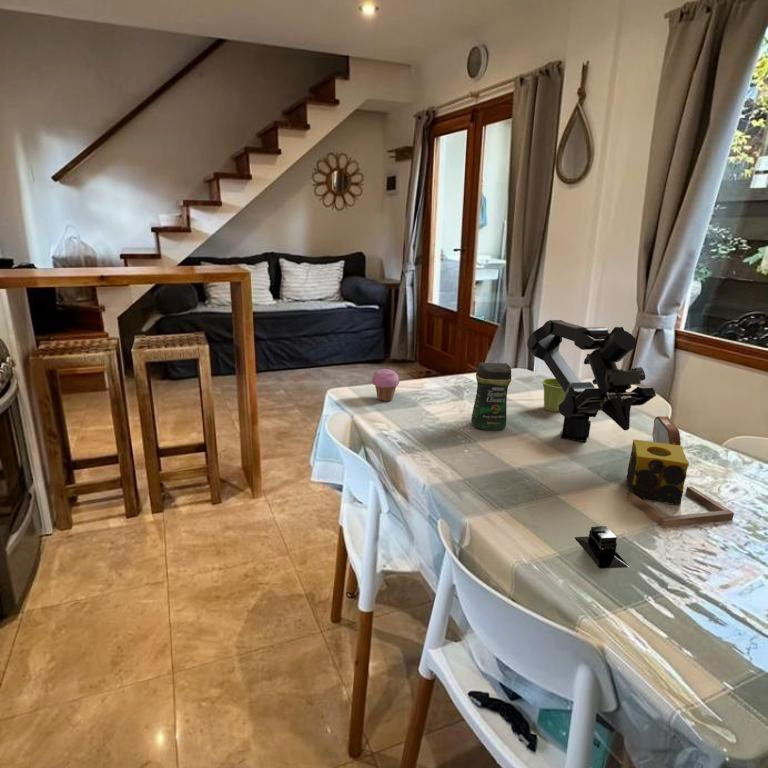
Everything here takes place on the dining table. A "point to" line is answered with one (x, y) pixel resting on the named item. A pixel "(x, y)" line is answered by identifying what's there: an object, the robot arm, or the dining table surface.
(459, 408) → the dining table surface
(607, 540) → the black block on plate
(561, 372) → the robot arm
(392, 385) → the cupcake
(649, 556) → the dining table surface
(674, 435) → the tin
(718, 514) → the brown flat tray
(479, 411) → the coffee jar
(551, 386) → the plant pot
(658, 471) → the yellow holed cube
